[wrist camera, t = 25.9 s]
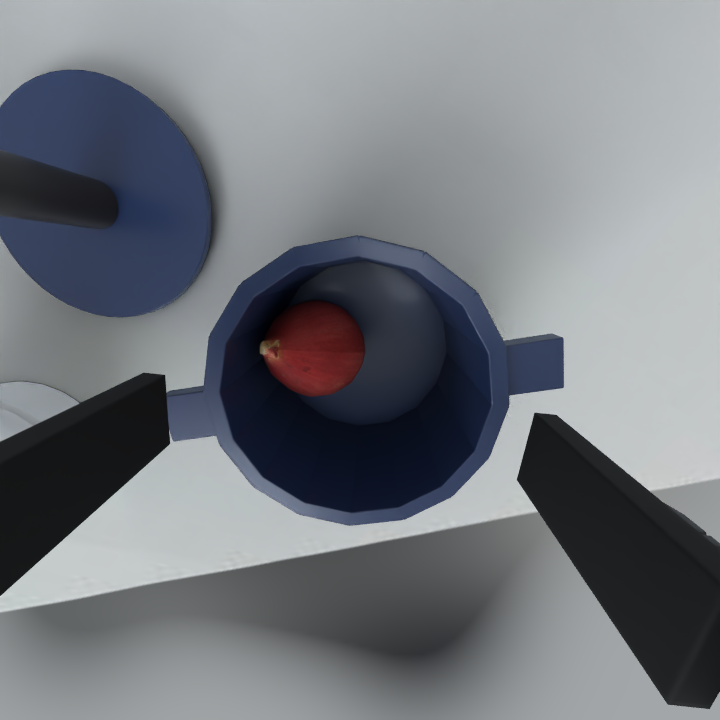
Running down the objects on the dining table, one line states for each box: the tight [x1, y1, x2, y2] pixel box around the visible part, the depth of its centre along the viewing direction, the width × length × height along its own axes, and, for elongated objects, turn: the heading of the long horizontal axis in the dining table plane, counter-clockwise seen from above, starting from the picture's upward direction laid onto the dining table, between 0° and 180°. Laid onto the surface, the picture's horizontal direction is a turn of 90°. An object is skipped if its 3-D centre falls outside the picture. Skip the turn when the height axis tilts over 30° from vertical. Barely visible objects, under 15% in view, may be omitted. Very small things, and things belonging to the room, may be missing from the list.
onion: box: [260, 300, 365, 397], centre depth 20 cm, size 6×6×8 cm
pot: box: [166, 235, 564, 526], centre depth 20 cm, size 14×19×10 cm
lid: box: [0, 70, 212, 317], centre depth 18 cm, size 15×15×9 cm
